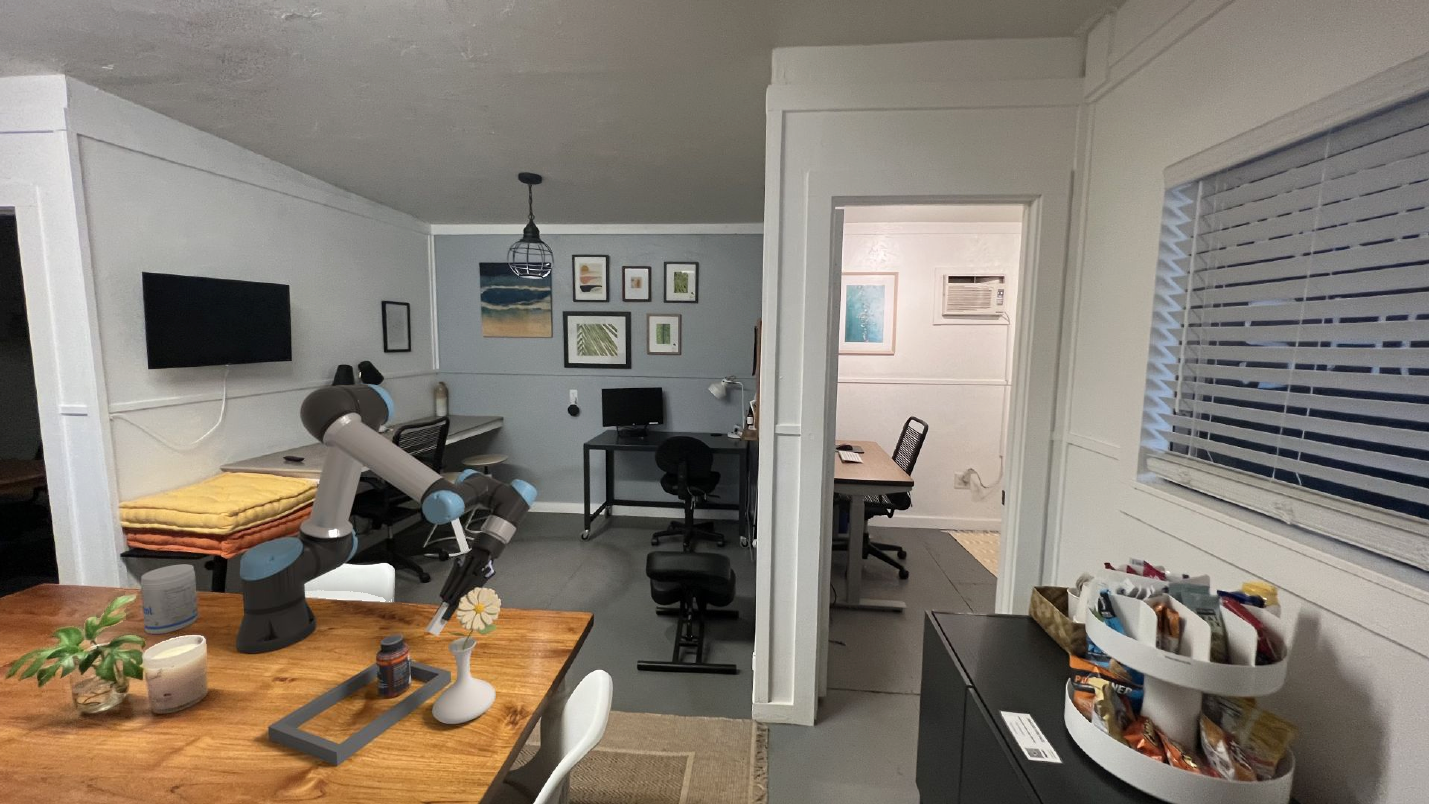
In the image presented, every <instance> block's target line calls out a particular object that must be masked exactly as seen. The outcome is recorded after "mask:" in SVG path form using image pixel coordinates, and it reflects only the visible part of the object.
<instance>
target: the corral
mask: <svg viewBox="0 0 1429 804" xmlns="http://www.w3.org/2000/svg"><path fill="white" fill-rule="evenodd" d="M410 671H411V678H414V679H417V680H421V681H424V682H425V681H426V683H424V684H423V685H422V686H421V687H419V688H418V689H416V690H415V691H413V692H412V693H410V694H409V695H408V696H406V697H405V698H403V699H401V700H400V701H399V702H398V703H396V704H395V705H393V706H392V707H390V708H389V709H388V710H386V711H384V712H383V713H382V714H380V715H379V716H377V717H376V718H375V719H373V720H372V721H371V722H369V723H368V724H365V726H363V727H362V728H360V729H359V730H358V731H356V732H354V733H353V734H351V735H350V736H349V737H348V738H346V739H345V740H343V741H342V742H340V743H337V742H335V741H332V740H330V739H326V738H324V737H321V736H319V735H316V734H313V733H311V732H309V731H305V730H303V729H300V728H298V727H300V726H302V725H303V724H305V723H307V722H308V721H310V720H311V719H313V718H315V717H317V715H320V714H321V713H323V712H324V711H326V710H327V709H329V708H331V707H332V706H334V705H335V704H337V703H339V702H340V701H341V700H343V699H345V698H347V697H348V696H349V695H352V694H353V693H355V692H356V691H358V690H359V689H361V688H363V687H364V686H366V685H368V684H369V683H371V682H373V680H375V679H377V667H376V662H375V663H373V664H372V665H369V666H368V667H366V668H365V669H362V670H361V671H360V672H358V673H356V674H355V675H353V676H351V677H350V678H348V679H346V680H344V681H343V682H341V683H339V684H338V685H336V686H334V687H332V688H331V689H330V690H327V691H326V692H324V693H322V694H321V695H319V696H317V697H316V698H314V699H312V700H311V701H309V702H307V703H305V704H304V705H302V706H300V707H298V708H297V709H295V710H294V711H292V712H290V713H288V714H287V715H285V716H283V717H282V718H279V719H278V720H277V721H275V722H274V723H272V724H270V725H268V739H269V740H270V741H272V742H275V743H277V744H280V745H282V746H286V747H287V748H290V749H293V750H295V751H298V752H301V753H304V754H306V755H309V756H311V757H313V758H317V759H318V760H322V761H324V762H326V763H329V764H332V765H334V766H336V767H338V766H340V765H341V764H343V763H344V762H345V761H346V760H348V759H349V758H350V757H352V756H353V755H355V754H356V753H357V752H359V751H360V750H362V749H363V748H364V747H366V746H367V745H368V744H370V743H371V742H372V741H373V740H375V739H377V738H378V737H379V736H381V735H382V734H383V733H385V732H386V731H388V729H390V728H391V727H392V726H394V725H395V724H397V723H398V722H399V721H400V720H402V719H403V718H405V717H406V716H407V715H409V714H410V713H412V712H413V711H414V710H416V709H417V708H418V707H420V706H421V705H422V704H424V703H425V702H427V701H428V700H429V699H430V698H432V697H433V696H435V695H436V694H437V693H439V692H441V691H442V690H443V689H444V688H446V687H447V686H448V685H449V684H451V683H452V675H451V674H452V673H451V672H452V671H450V670H447V669H443V668H440V667H435V666H432V665H428V664H425V663H421V662H419V661H414V660H411V659H410Z"/></svg>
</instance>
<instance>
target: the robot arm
mask: <svg viewBox="0 0 1429 804" xmlns="http://www.w3.org/2000/svg"><path fill="white" fill-rule="evenodd" d="M394 413H395V405H394V402H393V398H392V397H391V396H390V393H388V391H386V390H385V388H383V387H381V386H379V385H376V384H372V383H371V384H369V383H368V384H367V383H357V384H349V385H336V386H335V385H334V386H331V385H330V386H323V387H320V388H317V389H315V390H314V391H312V392H310V393H309V394H308V395H306V397H305V398H304V399H303V401H302V404H301V406H300V410H299V416H300V420H301V423H302V425H303V427H304V428H305V429H306V431H307V432H308V433H309V434H310V435H311V436H312V437H313V438H315V440H317V441H318V442H320V443H321V444H323V445H324V446H326V447H327V451H326V454H325V458H324V462H323V465H322V469H321V473H320V477H319V481H318V485H317V487H316V489H317V490H316V493H315V496H314V499H313V500H314V501H313V503H312V508H311V511H310V512H311V513H310V516H309V518H307V519H305V520H304V521H302V522H301V524H300V525H299V531H298V534H297V537H295V536H294V537H293V536H292V537H290V536H289V537H288V536H287V537H280V538H274V539H273V540H266V541H264V542H261V543H259V544H257V545H255V546H253V547H251V548H250V549H248V550H247V551H246V552H244V553H243V555H242V556H241V559H240V563H239V564H240V567H239V577H240V583H241V592H242V603H243V617H242V619H241V623H240V626H239V628H238V629H239V630H238V632H237V635H236V640H235V641H236V644H235V645H236V649H237V651H238V652H240V653H243V654H261V653H269V652H273V651H276V650H279V649H282V648H283V649H284V648H286V647H289V646H292V645H293V644H296V643H299V642H300V641H303V640H305V639H306V638H307V637H309V636H310V635H312V633H314V631H315V630H316V628H317V620H316V616H315V614H314V613H313V611H312V609H311V607H310V604H309V603H308V601H307V600H306V591H305V590H306V588H305V584H307V583H309V582H311V581H313V580H315V579H317V578H319V577H321V576H324V575H325V574H328V573H329V572H332V571H334V570H336V569H338V568H340V567H342V566H343V565H344V564H346V563H348V562H349V560H351V559H352V558H353V556H354V555H355V553H356V552H357V549H358V543H359V542H358V541H359V540H358V536H355V535H356V534H357V533H356V531H355V530H354V529H353V528H354V526H353V524H352V523H351V522H350V521H349V518H350V515H351V512H352V508H353V506H354V505H353V504H354V501H355V497H356V493H357V490H358V486H359V482H360V478H361V474H362V471H363V466H365V467H366V468H367V469H369V471H372V472H373V473H375V474H376V475H377V476H379V477H380V478H382V479H384V481H386V482H388V483H389V484H391V485H392V486H394V487H395V488H397V489H398V490H400V491H401V492H403V493H404V494H406V495H407V496H409V497H410V498H412V499H413V500H414V501H416V502H418V503H419V504H421V505H422V506H421V508H422V513H423V515H424V516H425V518H426V519H425V520H427V521H428V522H430V523H431V524H435V525H445V524H446V523H450V522H453V521H455V520H457V519H459V518H461V516H463V515H464V514H466V513H468V512H471V511H473V510H474V509H476V508H478V507H482V508H484V509H486V510H488V511H491V513H490V514H489V515H488V517H487V518H486V520H485V522H483V524H482V526H481V527H480V532H477V534H476V535H475V537H474V538H473V539H472V541H471V542H470V546H471V549H470V550H469V551H468V552H467V553H466V554H465V555H464V556H463V557H461V558H460V557H459V556H456V557H455V558H454V561H453V565H452V567H451V570H450V573H449V574H448V576H447V578H446V580H445V582H444V584H443V587H442V589H441V590H440V593H439V598H441V603H440V605H439V607H438V609H436V611H435V613H434V615H433V618H432V619H431V621H430V622H429V624H428V626H426V628H425V632H427V633H430V634H432V635H434V636H436V637H439V635H440V634H441V632H442V630H443V628H444V627H445V626H446V624H447V623H448V622H449V621H450V620H452V617H453V615H454V613H455V612H457V608H458V606H459V602H460V599H461V598H462V597H464V596H465V595H468V593H469V592H470V591H472V590H474V589H475V588H481V589H482V588H484V586H485V584H486V583H488V581H489V580H490V579H492V577H494V576H495V575H496V573H497V572H496V570H494V569H493V565H494V561H495V560H498V559H499V558H500V557H501V555H502V553H503V552H504V550H505V549H506V544H508V543H509V542H510V541H511V538H513V536H514V535H515V533H516V530H517V529H518V527H519V526H520V524H521V523H522V521H523V520H524V518H525V517H526V515H527V513H528V512H529V510H530V509H531V508H532V505H533V503H534V501H535V499H536V498H537V495H538V492H537V490H536V488H535V487H534V486H533V485H532V484H530V483H528V482H527V481H525V480H522V479H518V478H517V479H513V480H512V481H511V482H510V483H509V484H508V483H504V482H502V481H499V480H498V479H495V478H493V477H491V476H488V475H486V474H484V473H483V472H481V471H476V470H474V469H470V468H469V469H465V470H463V471H462V472H461V473H459V474H458V476H457V477H456V479H455V481H454V483H453V482H451V481H450V480H448V479H447V478H445V477H444V476H442V475H440V474H439V473H437V472H436V471H435V470H433V469H431V468H430V467H429V466H427V465H425V464H424V463H422V462H421V461H420V460H418V459H417V458H415V457H414V456H413V455H411V454H409V453H408V452H406V451H405V450H403V449H402V448H401V447H399V446H397V444H395V443H393V442H392V441H391V440H389V439H387V438H386V437H384V436H383V435H381V434H380V429H381V426H385V425H386V424H387V423H389V422H390V421H391V419H393V415H394Z"/></svg>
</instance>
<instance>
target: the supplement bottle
mask: <svg viewBox="0 0 1429 804" xmlns="http://www.w3.org/2000/svg"><path fill="white" fill-rule="evenodd" d="M375 656H376V657H375V663H376V667H377V678H376V679H377V689H378V690H377V691H378V695H379V696H380V698H384V699H389V698H390V699H391V698H395V697H398V696H401V695H402V694H404V693H406V692H407V691H408V690H409V689H410V688H411V686H412V677H411V671H410V660H411V659H410V658H411V656H410V647H409V645H408V644H407V643H405V642H404V636H403V635H402V634H392V635H389V636H386V637H383V639H381V641H380V650H378V652H377V653H376V655H375Z"/></svg>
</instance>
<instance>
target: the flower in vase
mask: <svg viewBox="0 0 1429 804" xmlns="http://www.w3.org/2000/svg"><path fill="white" fill-rule="evenodd" d="M495 593H496V591H495V590H493V589H492V588H486V587H482V588H475V589H474V590H472V591H470V592H469V593H468V595H465V596H464V597H462V598H461V599H460V602H459V606H458V608H457V609H456V616H455V618H456V620H458V624H460V625H461V627H462V629H465V630H470V632H469V634H468V635H465V634H463V633H459V632H458V633H457V632H450V631H449V630H447V632H448V633H449V634H451V635H454V636H459V637H461V638H457V639H455V640H453V641H451V642H450V643H449V645H448V646H447V648H448V651H450V652H451V653H452V654H453V657H454V659H455V664H456V670H457V671H456V679H455V681H454V682H453V683H452V684H451V685H449V686H448V687H447V688H445V690H443V691H442V692H441V694H440V695H438V697H437V698H436V700H435V701H434V703H433V706H432V709H431V710H432V711H431V712H432V715H433V717H434V718H435V719H436V720H438V722H441V723H443V724H451V725H452V724H453V725H455V724H461V723H466V722H469V721H472V720H473V719H476V718H478V717H480V716H481V715H483V714H484V713H485V712H487V711H488V710H489V709H490V707H492V705H493V704H494V701H495V700H496V697H497V696H496V695H497V694H496V692H497V691H496V690H495V688H494V686H493V685H492V684H491V683H489V682H488V681H485V680H483V679H480V678H475V677H473V676H472V674H471V669H470V667H471V666H470V665H471V664H470V661H471V655H472V651H473V649H474V647H475V646H476V644H477V639H476V638H474V637H471V635H472V634H473V633H474V631H476V632H477V633H478V634H479V635H481V636H485V635H489V634H491V633H493V632H494V631H496V630H497V629H498V628H499V627H498V625H497V624H494V621H496V620H497V619H498V618H499V613H500V612H501V605H502V603H501V601H502V600H501V599H500V598H499V597H498V594H495Z"/></svg>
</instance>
